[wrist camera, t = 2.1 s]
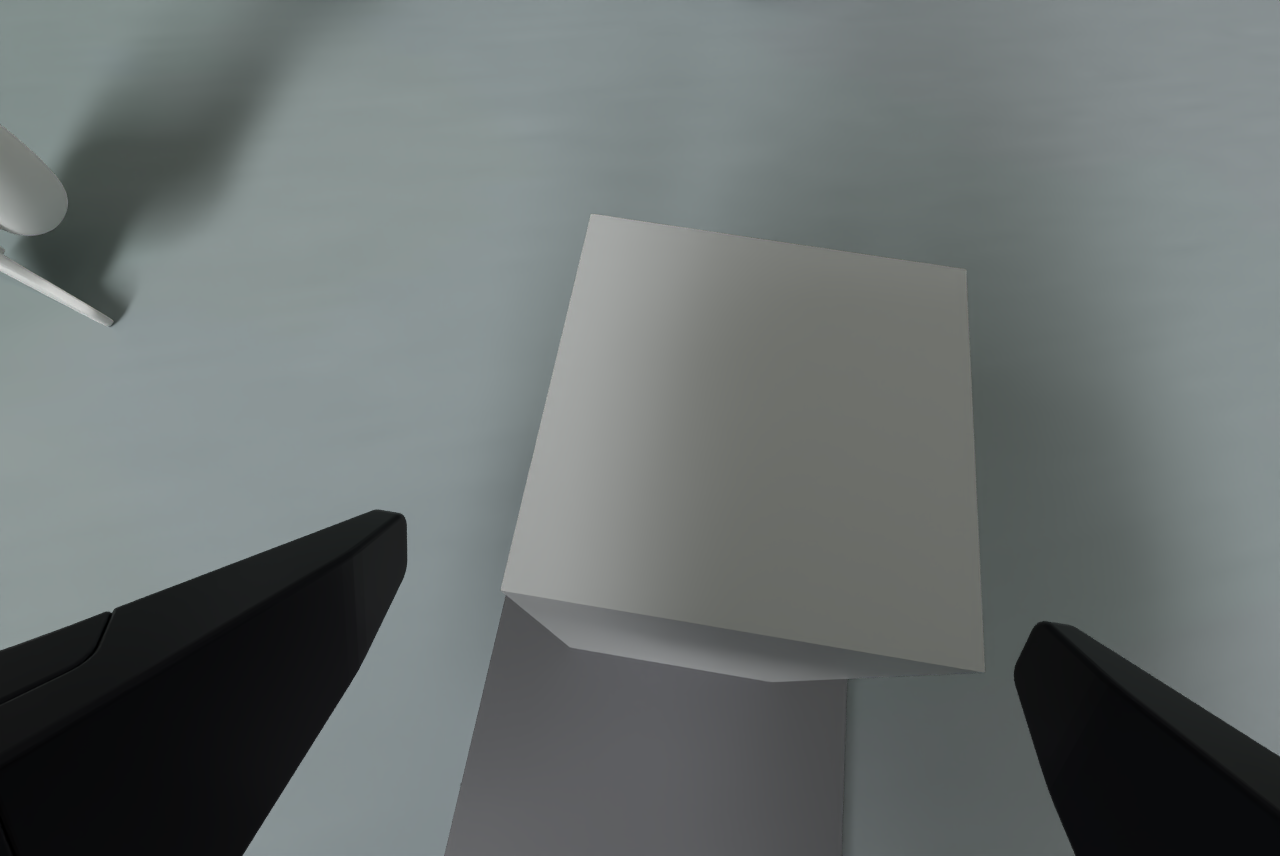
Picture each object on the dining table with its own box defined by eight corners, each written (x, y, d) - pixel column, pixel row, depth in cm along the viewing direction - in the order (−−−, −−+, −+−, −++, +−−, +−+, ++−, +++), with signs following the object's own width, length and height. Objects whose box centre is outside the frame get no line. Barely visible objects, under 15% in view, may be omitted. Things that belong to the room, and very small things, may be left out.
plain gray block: (748, 683, 17) (985, 672, 6) (577, 653, 17) (500, 590, 6) (762, 515, 19) (965, 268, 8) (608, 490, 19) (591, 213, 8)
